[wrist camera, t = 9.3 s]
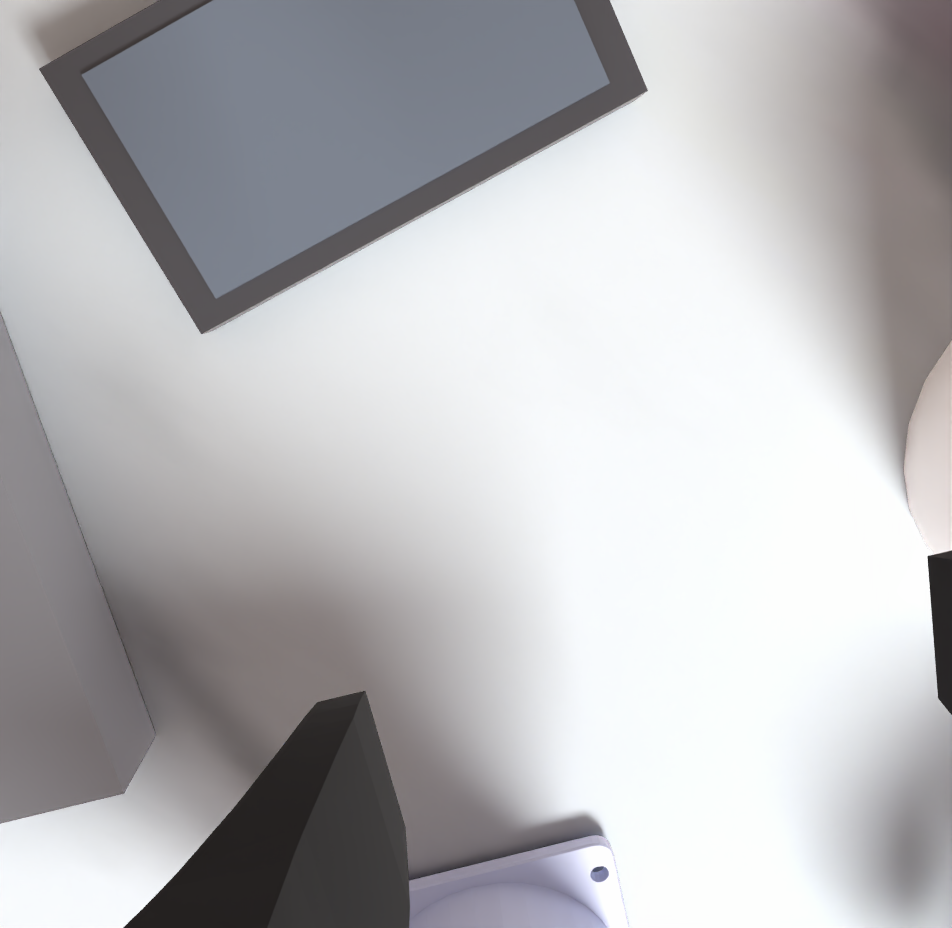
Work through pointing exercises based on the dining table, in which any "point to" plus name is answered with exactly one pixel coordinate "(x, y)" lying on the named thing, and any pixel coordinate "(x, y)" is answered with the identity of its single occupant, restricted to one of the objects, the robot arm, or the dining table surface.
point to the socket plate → (55, 635)
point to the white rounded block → (932, 458)
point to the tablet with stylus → (324, 122)
